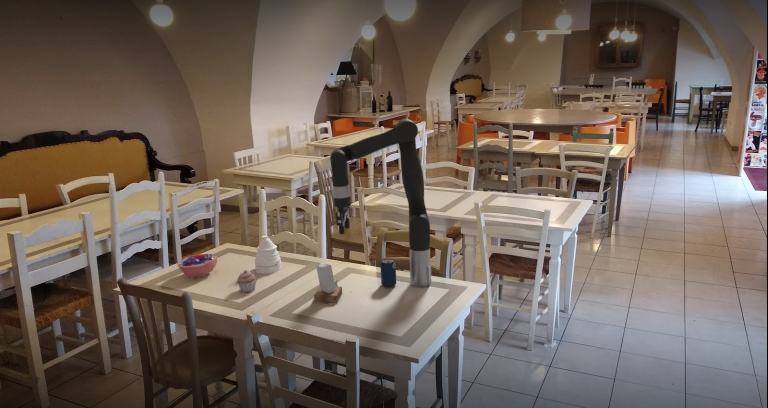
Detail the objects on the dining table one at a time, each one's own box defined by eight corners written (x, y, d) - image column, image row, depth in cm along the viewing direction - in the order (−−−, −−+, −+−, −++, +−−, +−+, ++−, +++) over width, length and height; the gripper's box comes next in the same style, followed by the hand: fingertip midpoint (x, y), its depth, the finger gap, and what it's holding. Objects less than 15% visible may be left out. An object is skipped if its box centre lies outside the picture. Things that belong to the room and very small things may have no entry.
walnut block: (342, 294, 248) (341, 286, 247) (337, 304, 238) (336, 295, 237) (320, 294, 249) (319, 286, 248) (314, 303, 240) (313, 295, 239)
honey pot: (278, 273, 275) (275, 238, 271) (252, 274, 275) (249, 239, 271) (283, 264, 288) (280, 230, 283) (258, 265, 288) (255, 231, 283)
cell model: (226, 271, 280) (224, 250, 277) (194, 285, 264) (191, 262, 261) (204, 266, 289) (201, 245, 286) (171, 279, 273) (168, 257, 270)
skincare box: (336, 290, 242) (332, 264, 238) (328, 294, 239) (324, 268, 236) (327, 286, 246) (324, 261, 243) (319, 290, 244) (315, 265, 240)
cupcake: (233, 291, 255) (231, 270, 253) (250, 284, 262) (248, 264, 259) (244, 296, 249) (242, 275, 247) (262, 289, 256) (260, 269, 253)
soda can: (399, 284, 255) (398, 260, 252) (389, 289, 251) (388, 264, 248) (388, 281, 260) (387, 257, 257) (378, 285, 255) (377, 261, 252)
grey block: (337, 287, 256) (337, 279, 255) (333, 292, 250) (333, 284, 249) (325, 286, 257) (324, 278, 256) (321, 291, 252) (320, 283, 251)
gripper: (345, 199, 235) (348, 235, 239) (354, 191, 249) (356, 226, 253) (328, 199, 237) (331, 235, 241) (337, 191, 250) (340, 226, 254)
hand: (344, 230), depth 247 cm, fingers open, 8 cm apart
